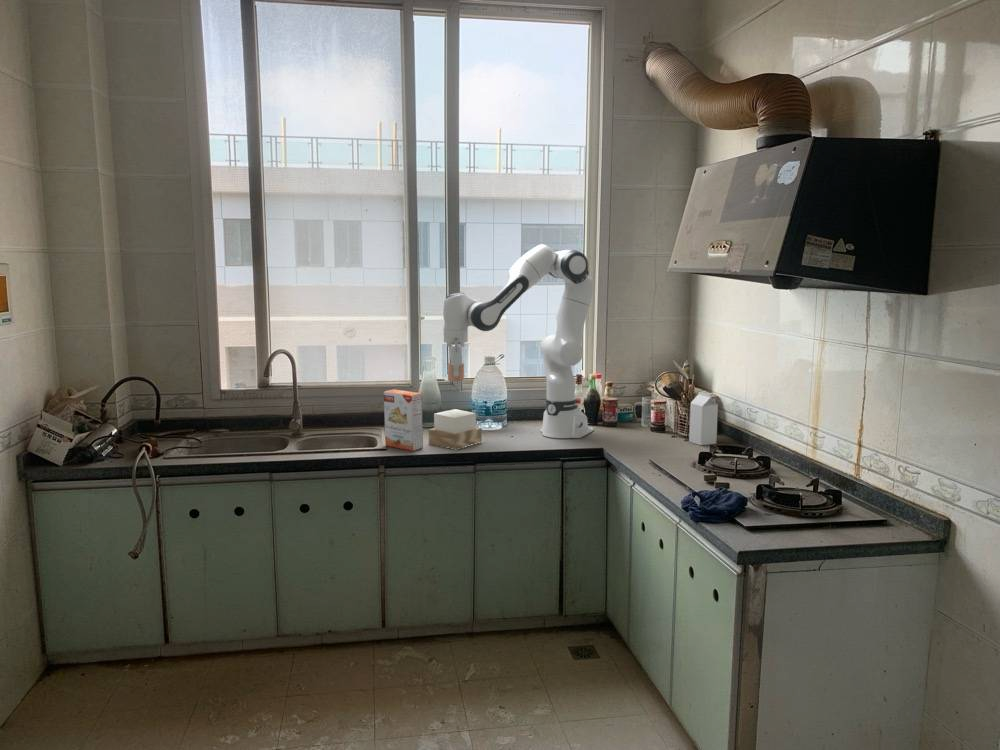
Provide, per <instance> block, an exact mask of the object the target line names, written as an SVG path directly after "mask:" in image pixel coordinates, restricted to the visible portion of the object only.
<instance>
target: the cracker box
mask: <svg viewBox="0 0 1000 750" xmlns="http://www.w3.org/2000/svg"><path fill="white" fill-rule="evenodd" d="M422 394H423V393H421V392H416V391H415V392H414V391H408V390H401V389H388V390H385V391H383V402H384V403H383V409H384V412H383V413H384V435H385V436H384V439H385V446H387V447H391V448H395V447H396V448H395V449H399V448H400V449H399V450H404V449H405V450H406V451H409V450H410V451H409V452H416V451H419V450H421V449H423V448H424V441H423V440H424V438H423V437H424V436H423V435H424V434H423V431H424V430H423V395H422Z"/></svg>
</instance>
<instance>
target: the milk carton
mask: <svg viewBox="0 0 1000 750" xmlns="http://www.w3.org/2000/svg"><path fill="white" fill-rule="evenodd" d="M689 409H690V410H689V411H690V413H689V435H688V437H689V440H688V441H689V442H690V443H693V444H695V445H698V446H710V445H715V444H717V437H718V435H717V433H718V416H719V415H718V414H719V413H718V410H719V404H718V403H717V402H716V401H715V400H714V399H713V397H712V395H711V394H709V393H705V392H702V391H698V394H697V395H696V396H695V397H694V399H693V400H692V401H691V402H690V408H689Z"/></svg>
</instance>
